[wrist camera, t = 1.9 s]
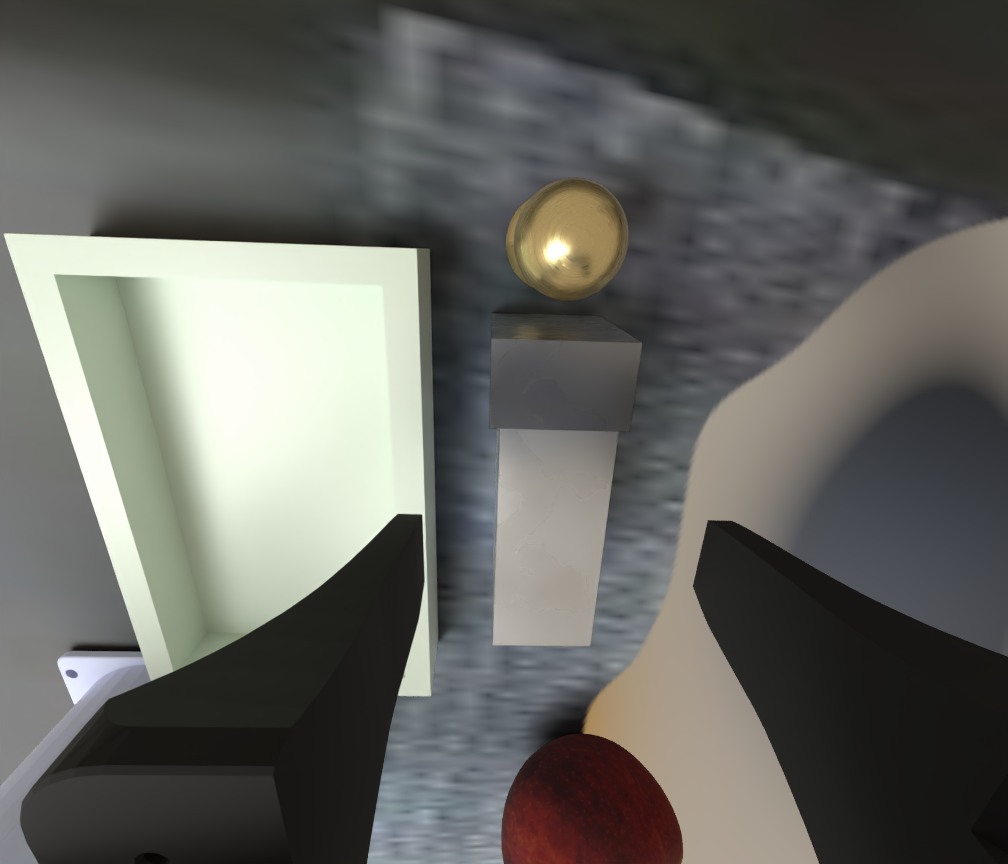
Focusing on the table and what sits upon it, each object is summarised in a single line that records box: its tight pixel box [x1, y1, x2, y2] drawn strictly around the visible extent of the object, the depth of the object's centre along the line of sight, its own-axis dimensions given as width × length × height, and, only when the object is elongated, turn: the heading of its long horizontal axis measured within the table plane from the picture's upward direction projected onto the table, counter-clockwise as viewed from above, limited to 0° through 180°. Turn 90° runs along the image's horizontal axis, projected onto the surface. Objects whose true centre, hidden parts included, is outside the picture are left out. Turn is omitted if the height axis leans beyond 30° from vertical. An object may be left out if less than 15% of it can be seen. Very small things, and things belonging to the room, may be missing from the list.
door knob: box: [506, 177, 629, 301], centre depth 13 cm, size 3×3×6 cm
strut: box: [489, 313, 642, 646], centre depth 16 cm, size 10×4×5 cm, turn 178°
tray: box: [4, 234, 438, 696], centre depth 17 cm, size 17×11×3 cm, turn 178°
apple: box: [502, 734, 683, 864], centre depth 21 cm, size 7×8×8 cm
